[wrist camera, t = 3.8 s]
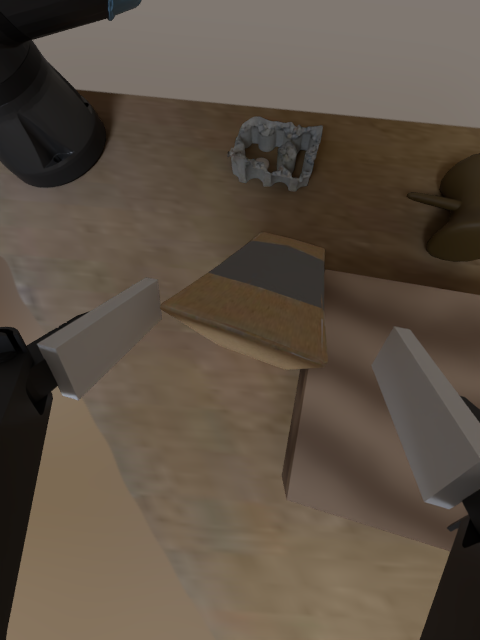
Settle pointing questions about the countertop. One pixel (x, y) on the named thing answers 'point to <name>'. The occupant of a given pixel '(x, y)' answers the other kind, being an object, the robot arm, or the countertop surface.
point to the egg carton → (289, 145)
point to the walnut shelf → (375, 405)
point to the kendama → (457, 212)
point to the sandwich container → (262, 303)
